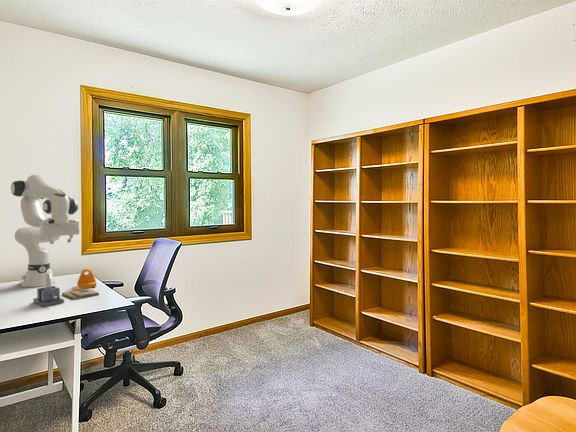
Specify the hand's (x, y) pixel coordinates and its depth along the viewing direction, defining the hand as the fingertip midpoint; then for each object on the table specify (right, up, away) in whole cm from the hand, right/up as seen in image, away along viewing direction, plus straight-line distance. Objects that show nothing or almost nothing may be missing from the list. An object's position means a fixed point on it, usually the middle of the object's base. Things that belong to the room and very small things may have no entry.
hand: (60, 243), depth 214 cm
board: (+13, -31, -1) cm, 34 cm away
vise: (+6, -32, -18) cm, 37 cm away
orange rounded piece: (+6, -31, +18) cm, 36 cm away
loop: (+12, -30, -1) cm, 32 cm away
